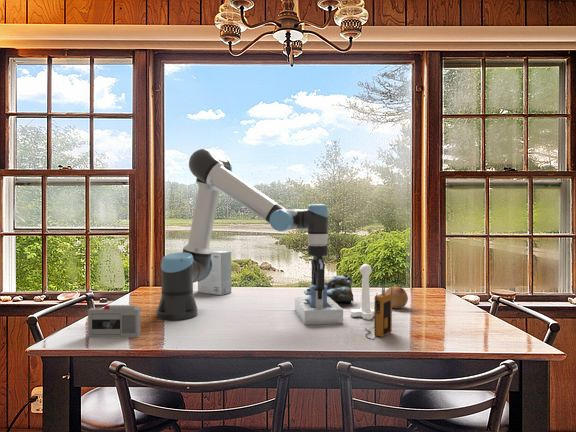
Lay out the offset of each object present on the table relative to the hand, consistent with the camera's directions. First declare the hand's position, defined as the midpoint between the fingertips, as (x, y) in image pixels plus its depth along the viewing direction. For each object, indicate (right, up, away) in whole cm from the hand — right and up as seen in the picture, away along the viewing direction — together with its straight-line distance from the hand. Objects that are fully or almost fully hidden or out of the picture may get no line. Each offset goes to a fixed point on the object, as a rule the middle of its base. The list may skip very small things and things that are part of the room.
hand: (317, 305), depth 163 cm
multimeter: (+17, -5, -21) cm, 27 cm away
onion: (+33, -4, +14) cm, 36 cm away
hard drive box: (-47, -3, +44) cm, 64 cm away
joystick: (+18, -4, -1) cm, 19 cm away
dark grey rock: (+10, -4, +23) cm, 26 cm away
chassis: (0, -4, 0) cm, 4 cm away
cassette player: (-67, -5, -26) cm, 72 cm away
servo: (0, 0, 0) cm, 0 cm away
